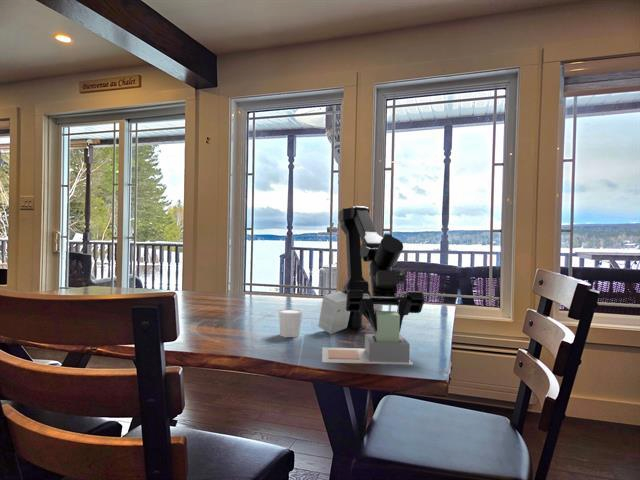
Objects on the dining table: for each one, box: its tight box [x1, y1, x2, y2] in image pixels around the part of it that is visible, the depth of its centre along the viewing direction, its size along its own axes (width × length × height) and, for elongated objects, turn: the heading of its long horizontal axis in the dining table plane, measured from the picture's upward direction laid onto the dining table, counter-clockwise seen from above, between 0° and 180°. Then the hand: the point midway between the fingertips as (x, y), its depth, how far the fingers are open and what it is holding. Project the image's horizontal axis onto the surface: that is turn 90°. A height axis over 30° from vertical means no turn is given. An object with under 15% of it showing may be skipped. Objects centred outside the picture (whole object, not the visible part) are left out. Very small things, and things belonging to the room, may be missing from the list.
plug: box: [374, 310, 400, 342], centre depth 92 cm, size 5×5×10 cm
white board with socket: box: [321, 333, 414, 366], centre depth 92 cm, size 12×20×5 cm, turn 89°
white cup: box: [278, 309, 303, 338], centre depth 115 cm, size 7×7×7 cm
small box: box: [317, 290, 350, 335], centre depth 120 cm, size 8×6×10 cm
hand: (387, 331), depth 91 cm, fingers closed on plug, 5 cm apart
